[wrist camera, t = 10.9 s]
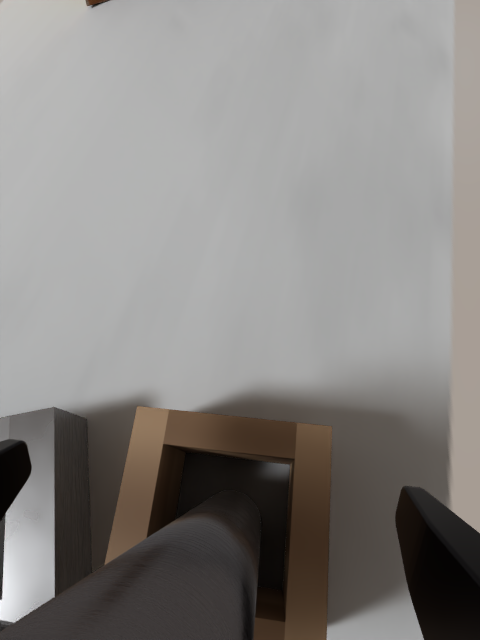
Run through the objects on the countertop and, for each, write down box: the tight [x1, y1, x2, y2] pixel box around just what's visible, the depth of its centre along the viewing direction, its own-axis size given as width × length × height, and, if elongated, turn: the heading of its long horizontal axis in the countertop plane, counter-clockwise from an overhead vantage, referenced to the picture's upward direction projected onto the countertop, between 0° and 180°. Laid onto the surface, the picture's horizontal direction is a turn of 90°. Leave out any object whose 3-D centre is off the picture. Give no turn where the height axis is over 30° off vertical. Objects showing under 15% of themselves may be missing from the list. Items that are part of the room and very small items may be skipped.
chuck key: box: [0, 490, 262, 640], centre depth 9 cm, size 6×3×15 cm, turn 83°
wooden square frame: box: [104, 406, 332, 640], centre depth 15 cm, size 7×7×4 cm
